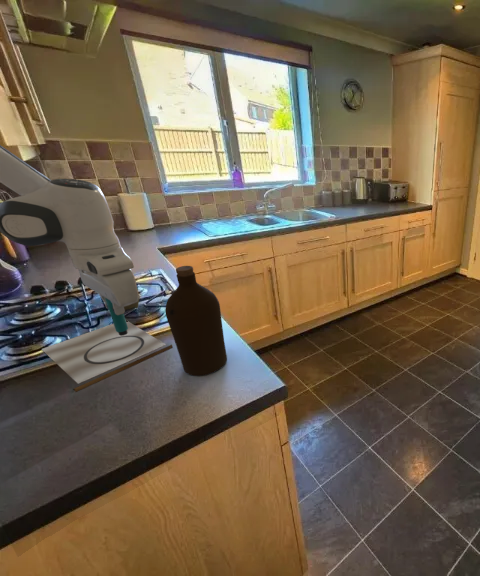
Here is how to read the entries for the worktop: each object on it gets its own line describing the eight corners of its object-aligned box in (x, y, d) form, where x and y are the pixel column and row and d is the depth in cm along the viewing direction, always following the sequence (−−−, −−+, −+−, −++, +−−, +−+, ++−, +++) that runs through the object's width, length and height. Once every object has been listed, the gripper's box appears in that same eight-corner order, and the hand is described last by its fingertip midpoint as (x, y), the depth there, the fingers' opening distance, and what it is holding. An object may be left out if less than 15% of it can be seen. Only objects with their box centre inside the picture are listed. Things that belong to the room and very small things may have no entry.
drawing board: (36, 353, 81) (34, 349, 80) (128, 320, 96) (127, 316, 96) (75, 392, 69) (73, 387, 69) (173, 347, 85) (172, 343, 85)
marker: (115, 334, 80) (100, 289, 75) (126, 330, 82) (112, 286, 77) (120, 337, 79) (105, 292, 74) (131, 333, 81) (117, 288, 76)
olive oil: (223, 376, 76) (203, 276, 66) (173, 380, 74) (144, 278, 64) (234, 349, 85) (217, 259, 75) (190, 352, 83) (167, 260, 73)
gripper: (61, 250, 75) (81, 303, 80) (101, 270, 65) (120, 330, 71) (94, 244, 80) (111, 295, 85) (136, 262, 70) (152, 318, 76)
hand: (116, 311), depth 78 cm, fingers closed on marker, 2 cm apart
